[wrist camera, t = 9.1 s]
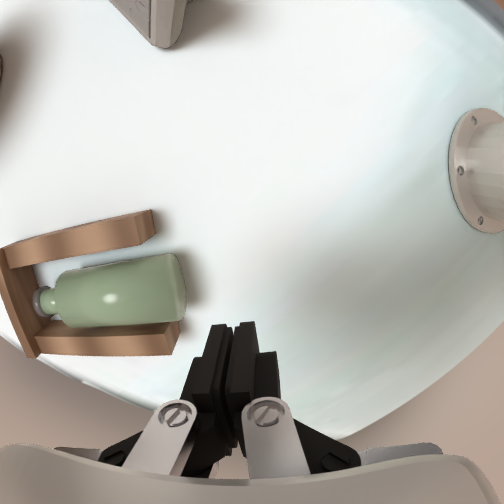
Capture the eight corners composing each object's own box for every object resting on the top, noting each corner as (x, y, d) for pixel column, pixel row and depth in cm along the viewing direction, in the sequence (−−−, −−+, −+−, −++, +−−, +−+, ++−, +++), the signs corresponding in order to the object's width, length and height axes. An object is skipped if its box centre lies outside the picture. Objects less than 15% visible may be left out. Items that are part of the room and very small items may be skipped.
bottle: (157, 271, 18) (17, 291, 18) (178, 334, 19) (40, 339, 20) (174, 243, 22) (46, 267, 23) (189, 298, 24) (64, 311, 25)
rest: (150, 209, 22) (128, 219, 17) (180, 332, 25) (168, 362, 20) (16, 241, 22) (-12, 253, 18) (48, 336, 25) (27, 357, 21)
